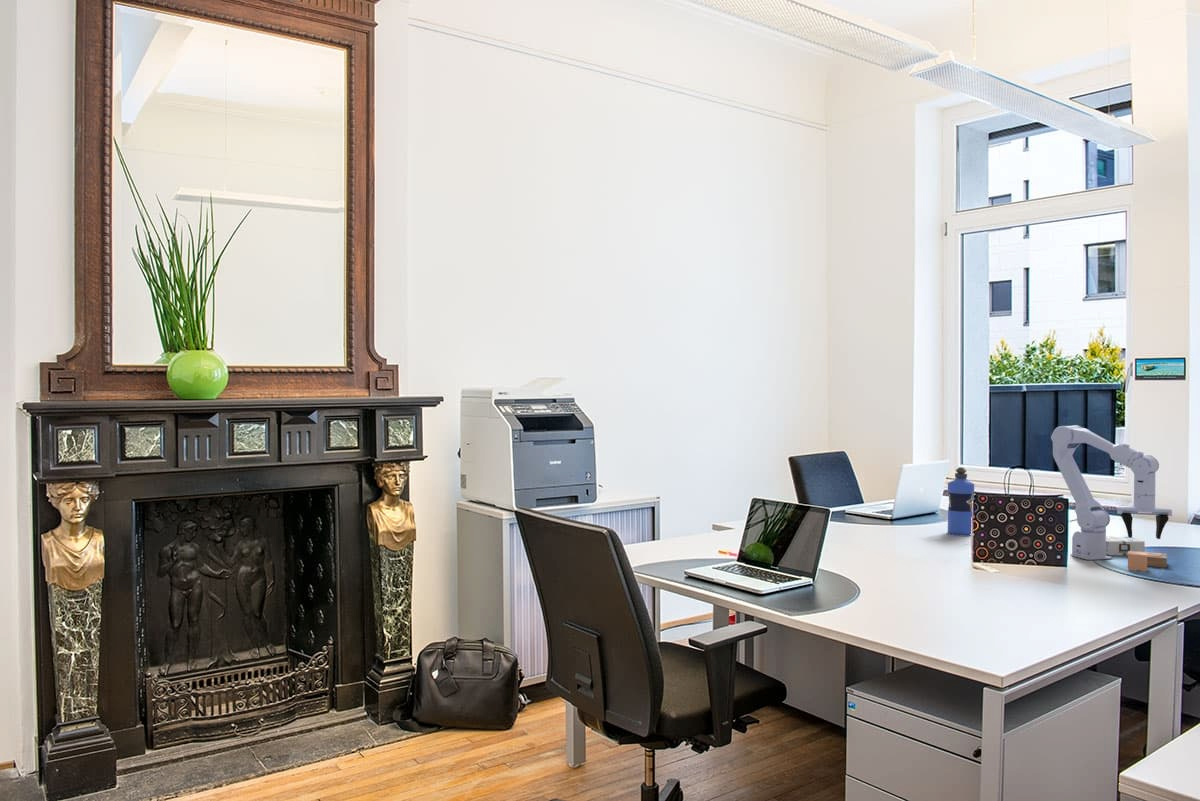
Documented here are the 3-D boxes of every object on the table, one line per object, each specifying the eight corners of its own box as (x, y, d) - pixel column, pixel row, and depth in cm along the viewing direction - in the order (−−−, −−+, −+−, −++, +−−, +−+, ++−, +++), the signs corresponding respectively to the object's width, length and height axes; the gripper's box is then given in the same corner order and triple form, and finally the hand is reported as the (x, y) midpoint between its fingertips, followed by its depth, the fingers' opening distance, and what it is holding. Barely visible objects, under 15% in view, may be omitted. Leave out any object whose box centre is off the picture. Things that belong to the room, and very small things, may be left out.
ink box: (1129, 550, 300) (1086, 550, 300) (1130, 536, 300) (1086, 536, 300) (1144, 556, 291) (1099, 555, 292) (1145, 541, 291) (1100, 541, 292)
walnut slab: (1166, 567, 273) (1166, 557, 273) (1136, 564, 277) (1136, 554, 277) (1166, 563, 280) (1166, 553, 280) (1136, 560, 284) (1137, 550, 284)
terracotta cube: (1146, 571, 268) (1147, 555, 268) (1127, 569, 271) (1127, 553, 271) (1147, 568, 272) (1147, 552, 272) (1128, 566, 275) (1128, 551, 275)
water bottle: (975, 532, 335) (976, 467, 334) (971, 536, 327) (972, 469, 327) (949, 530, 340) (950, 466, 339) (945, 534, 332) (945, 468, 332)
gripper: (1120, 495, 274) (1120, 538, 275) (1174, 497, 269) (1174, 541, 270) (1116, 492, 281) (1115, 534, 281) (1168, 494, 276) (1168, 537, 276)
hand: (1144, 537), depth 276 cm, fingers open, 7 cm apart
